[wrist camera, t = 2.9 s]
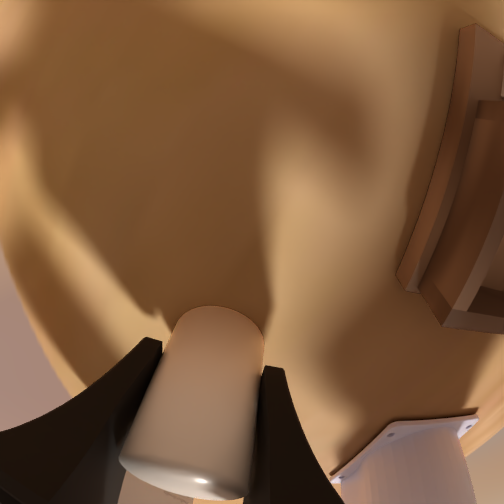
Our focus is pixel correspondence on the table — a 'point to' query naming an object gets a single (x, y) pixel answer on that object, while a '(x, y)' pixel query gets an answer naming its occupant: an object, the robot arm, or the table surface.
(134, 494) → the skincare box
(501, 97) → the socket board
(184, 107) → the table surface
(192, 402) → the plug
